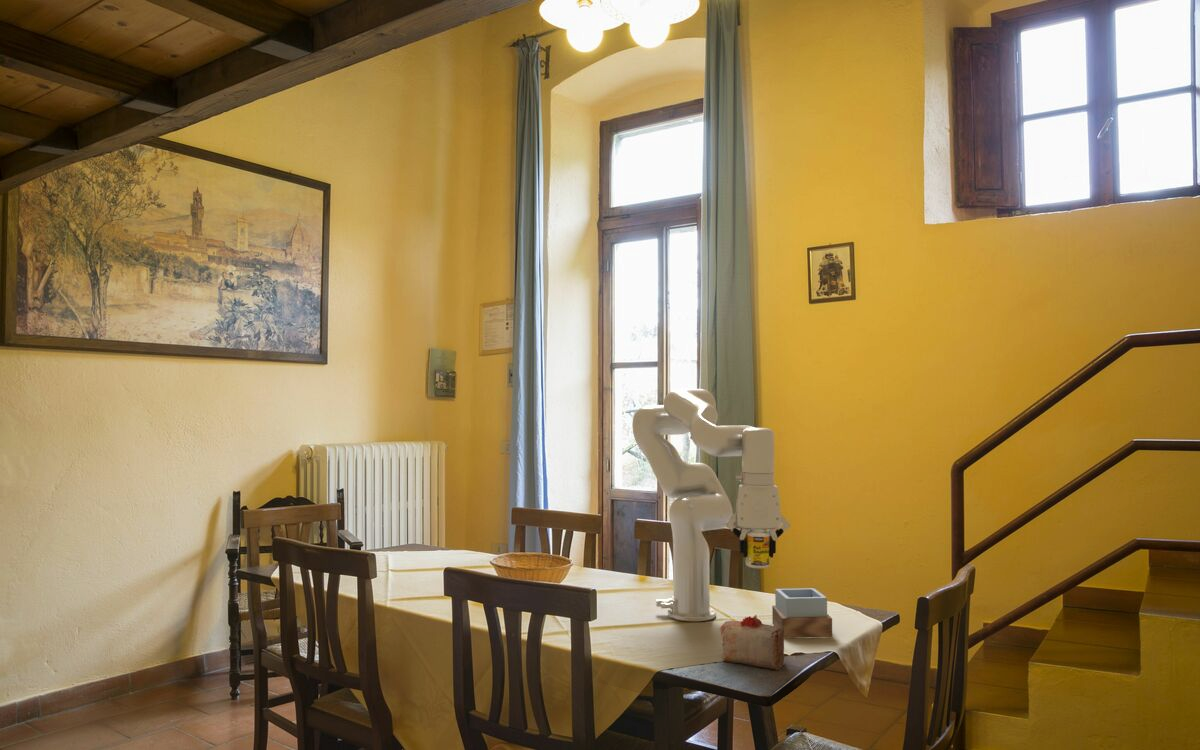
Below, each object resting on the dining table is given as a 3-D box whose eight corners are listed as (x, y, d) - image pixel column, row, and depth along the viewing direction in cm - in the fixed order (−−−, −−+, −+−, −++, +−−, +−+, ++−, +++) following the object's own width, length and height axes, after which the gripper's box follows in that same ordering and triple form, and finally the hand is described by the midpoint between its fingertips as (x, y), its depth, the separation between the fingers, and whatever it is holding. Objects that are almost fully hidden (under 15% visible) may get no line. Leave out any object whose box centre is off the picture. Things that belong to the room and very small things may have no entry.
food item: (716, 662, 178) (715, 617, 178) (729, 652, 185) (729, 608, 185) (776, 673, 171) (776, 625, 171) (788, 662, 178) (788, 616, 178)
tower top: (786, 617, 197) (786, 598, 197) (775, 606, 207) (775, 588, 207) (827, 616, 197) (827, 597, 197) (814, 605, 207) (814, 588, 207)
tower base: (782, 639, 196) (782, 618, 196) (772, 625, 208) (772, 605, 208) (832, 639, 196) (832, 618, 196) (819, 625, 208) (819, 605, 208)
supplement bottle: (751, 569, 189) (751, 525, 190) (741, 564, 195) (742, 521, 195) (773, 568, 191) (773, 524, 191) (763, 563, 196) (763, 520, 196)
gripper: (723, 481, 190) (723, 559, 189) (797, 482, 189) (797, 560, 189) (719, 477, 197) (719, 552, 197) (791, 478, 197) (790, 553, 196)
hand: (757, 555), depth 193 cm, fingers closed on supplement bottle, 5 cm apart
